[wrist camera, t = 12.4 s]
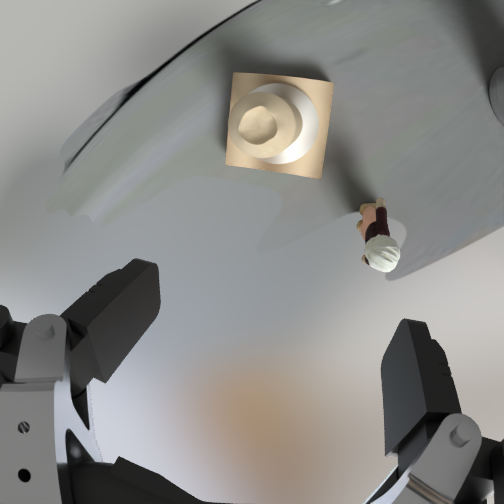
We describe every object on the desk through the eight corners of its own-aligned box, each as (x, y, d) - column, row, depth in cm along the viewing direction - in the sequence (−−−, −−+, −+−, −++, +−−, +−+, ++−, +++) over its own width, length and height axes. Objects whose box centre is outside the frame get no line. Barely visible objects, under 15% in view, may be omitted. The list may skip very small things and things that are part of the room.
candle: (262, 90, 29) (237, 80, 20) (311, 110, 29) (305, 107, 20) (244, 136, 32) (212, 144, 23) (290, 155, 31) (276, 172, 23)
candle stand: (333, 85, 30) (334, 81, 27) (320, 173, 35) (320, 180, 32) (240, 75, 32) (231, 71, 29) (233, 160, 37) (223, 166, 34)
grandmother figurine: (382, 243, 37) (402, 297, 26) (354, 243, 38) (363, 297, 27) (384, 185, 34) (411, 220, 23) (354, 185, 35) (368, 220, 24)
